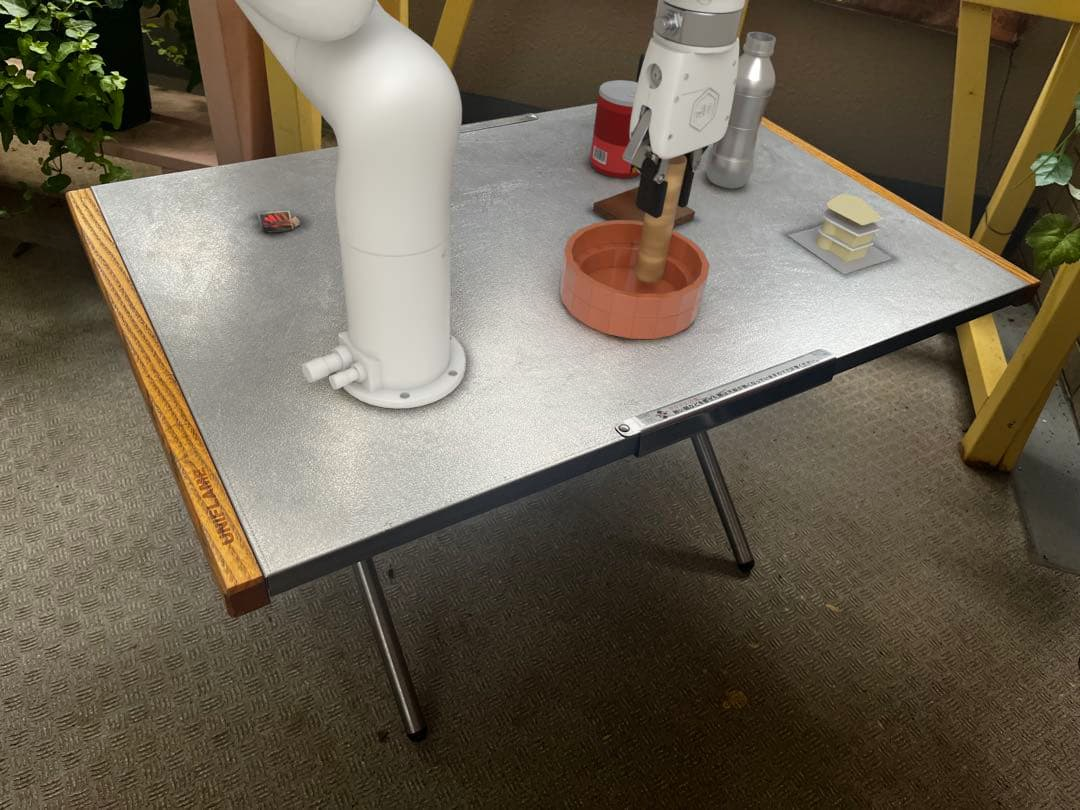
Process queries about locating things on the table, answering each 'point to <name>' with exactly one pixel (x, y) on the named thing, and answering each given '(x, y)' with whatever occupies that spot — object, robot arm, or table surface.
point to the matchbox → (277, 221)
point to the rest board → (633, 208)
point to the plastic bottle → (744, 114)
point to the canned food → (613, 129)
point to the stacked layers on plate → (845, 235)
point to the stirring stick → (660, 226)
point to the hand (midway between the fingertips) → (661, 205)
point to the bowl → (630, 282)
